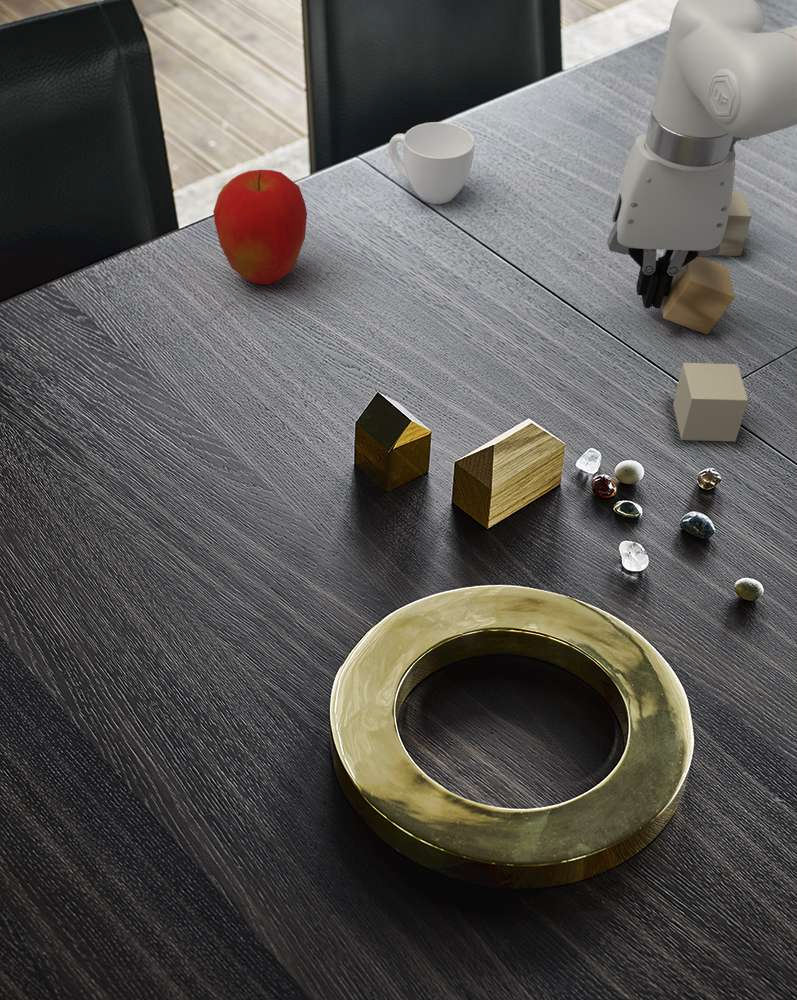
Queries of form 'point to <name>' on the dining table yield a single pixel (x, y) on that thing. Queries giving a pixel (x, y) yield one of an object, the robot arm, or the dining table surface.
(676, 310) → the maple block
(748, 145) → the dining table surface
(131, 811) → the dining table surface
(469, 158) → the cup
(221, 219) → the apple
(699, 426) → the cream block
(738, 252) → the ash block
